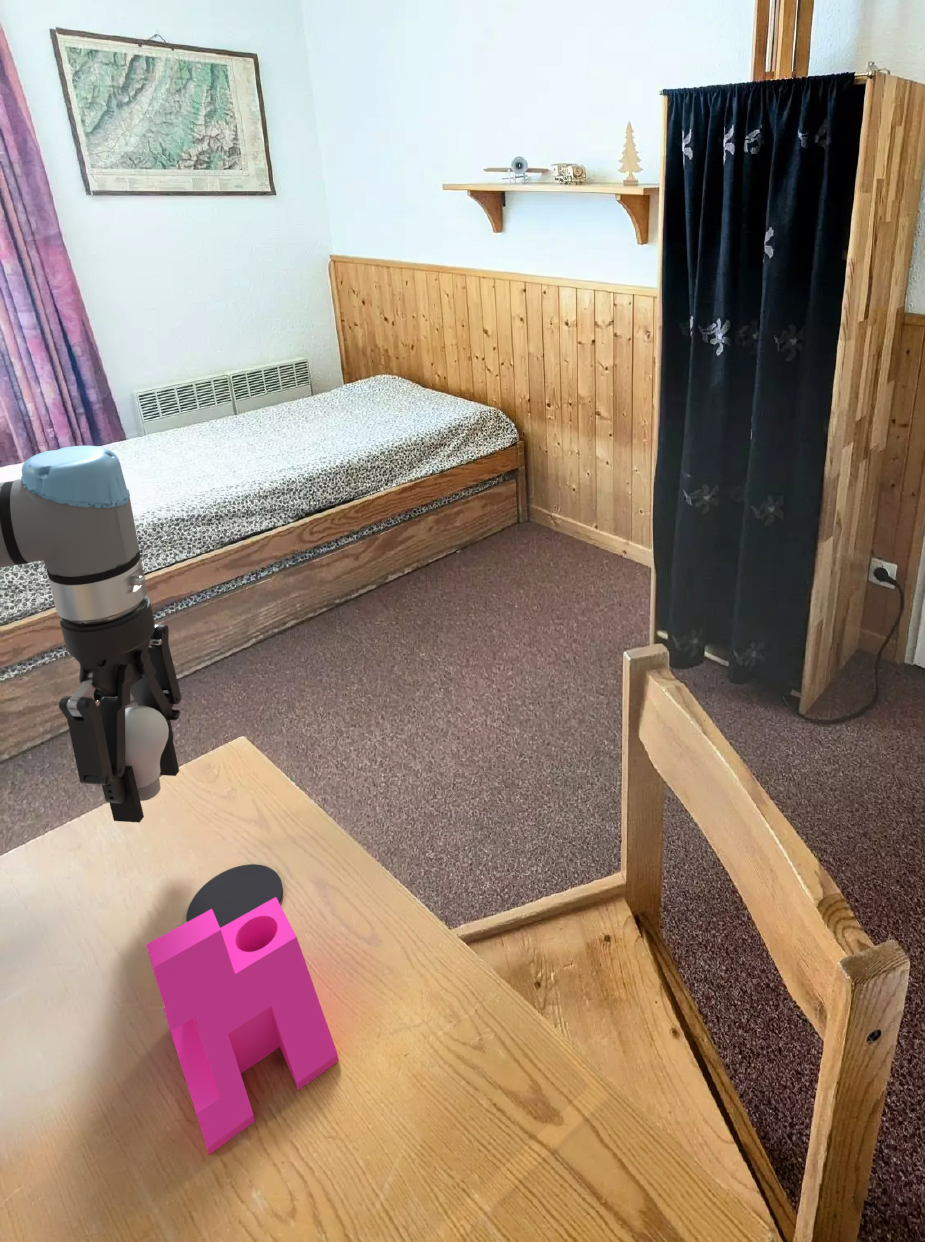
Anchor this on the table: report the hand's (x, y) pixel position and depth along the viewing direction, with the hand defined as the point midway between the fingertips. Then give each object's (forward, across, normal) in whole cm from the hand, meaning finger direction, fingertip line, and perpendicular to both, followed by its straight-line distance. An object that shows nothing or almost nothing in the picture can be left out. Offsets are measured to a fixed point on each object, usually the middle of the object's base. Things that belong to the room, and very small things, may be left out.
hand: (147, 794), depth 82 cm
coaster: (+8, -6, -11) cm, 15 cm away
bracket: (+8, -19, -19) cm, 28 cm away
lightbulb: (+1, 0, 0) cm, 1 cm away
